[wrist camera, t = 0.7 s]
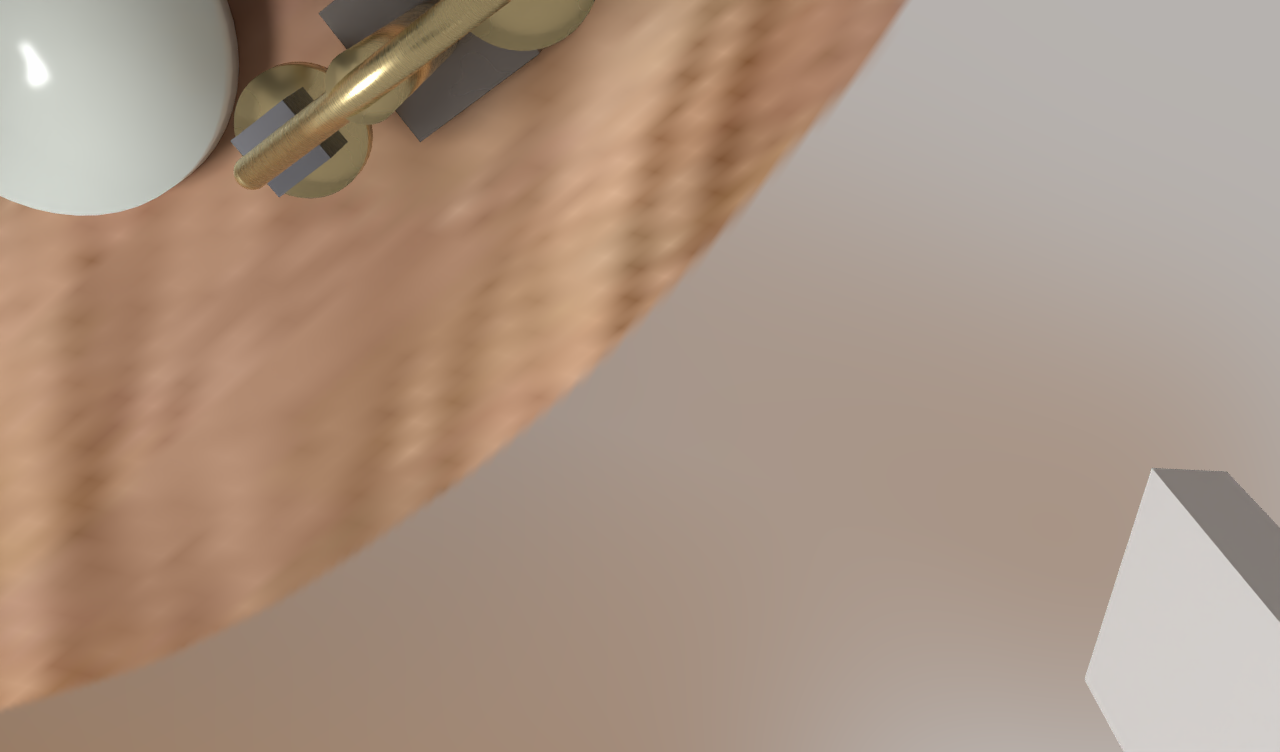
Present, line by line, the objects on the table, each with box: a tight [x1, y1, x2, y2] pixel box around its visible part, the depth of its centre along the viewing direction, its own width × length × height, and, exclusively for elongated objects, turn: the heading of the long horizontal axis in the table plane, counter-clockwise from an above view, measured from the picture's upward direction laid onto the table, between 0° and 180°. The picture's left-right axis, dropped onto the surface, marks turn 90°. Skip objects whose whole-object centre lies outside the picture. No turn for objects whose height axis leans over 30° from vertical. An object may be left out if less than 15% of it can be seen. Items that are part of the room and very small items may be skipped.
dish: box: [0, 0, 239, 215], centre depth 31 cm, size 10×10×1 cm
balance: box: [231, 0, 595, 198], centre depth 26 cm, size 4×12×11 cm, turn 125°
